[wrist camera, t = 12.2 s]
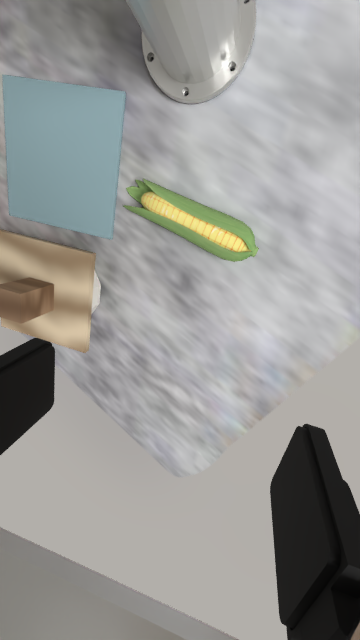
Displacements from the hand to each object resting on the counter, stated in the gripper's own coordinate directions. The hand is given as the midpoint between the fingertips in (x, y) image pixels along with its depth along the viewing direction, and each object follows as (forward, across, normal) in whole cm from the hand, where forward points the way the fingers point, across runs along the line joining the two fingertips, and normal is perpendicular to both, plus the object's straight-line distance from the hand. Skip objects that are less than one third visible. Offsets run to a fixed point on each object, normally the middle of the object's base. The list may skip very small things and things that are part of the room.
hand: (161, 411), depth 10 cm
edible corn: (+31, +7, -6) cm, 32 cm away
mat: (+30, +27, -10) cm, 42 cm away
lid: (+25, +25, +8) cm, 36 cm away
